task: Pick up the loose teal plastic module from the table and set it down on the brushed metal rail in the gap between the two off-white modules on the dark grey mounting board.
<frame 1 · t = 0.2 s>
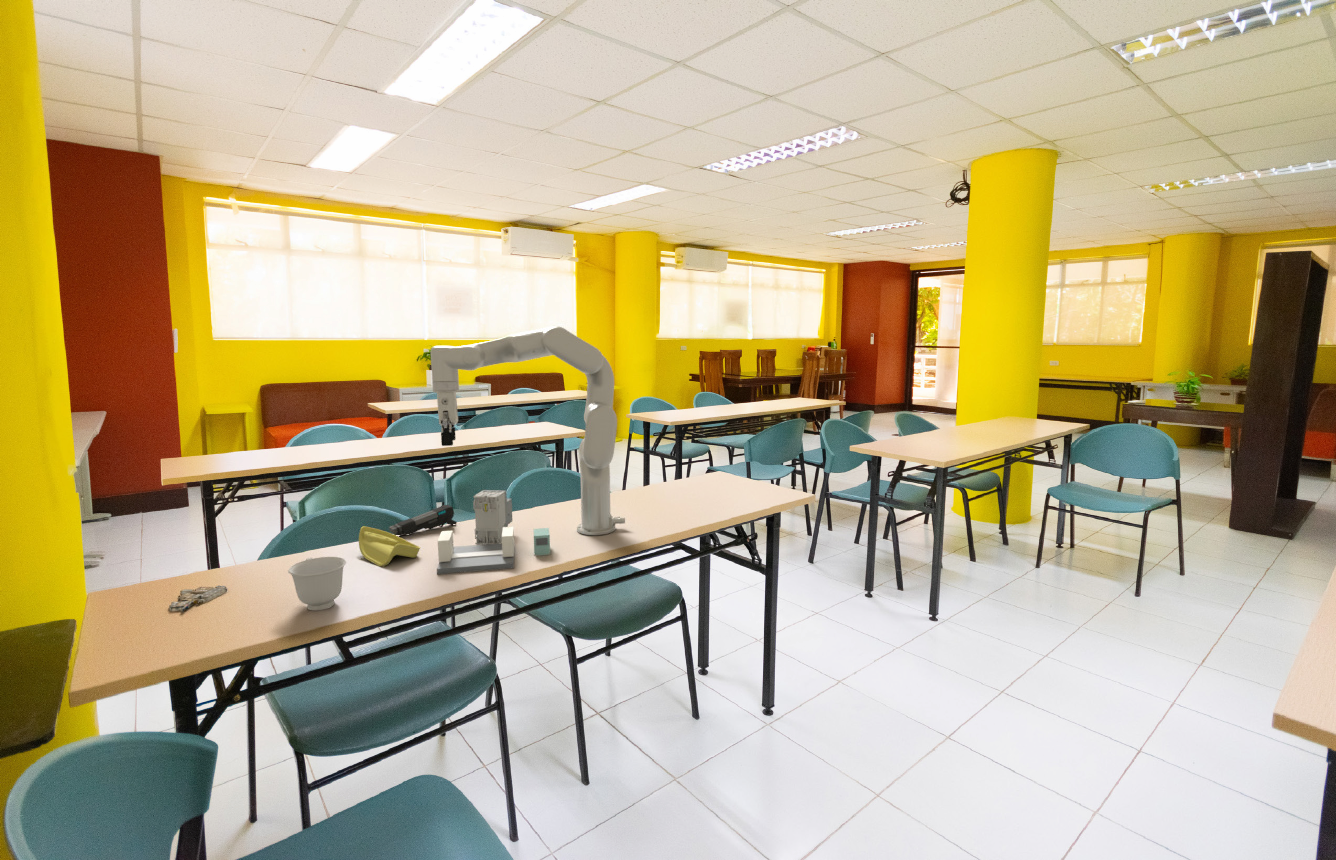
hand: (448, 442, 194), 31 cm above the table, tool pointing down, fingers open, 9 cm apart
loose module: (542, 551, 188), on the table
rail board: (478, 559, 181), on the table
gun: (424, 532, 208), on the table
teacup: (319, 604, 152), on the table
circuit breaker: (495, 537, 202), on the table
plastic component: (388, 556, 186), on the table
circuit board: (200, 602, 154), on the table
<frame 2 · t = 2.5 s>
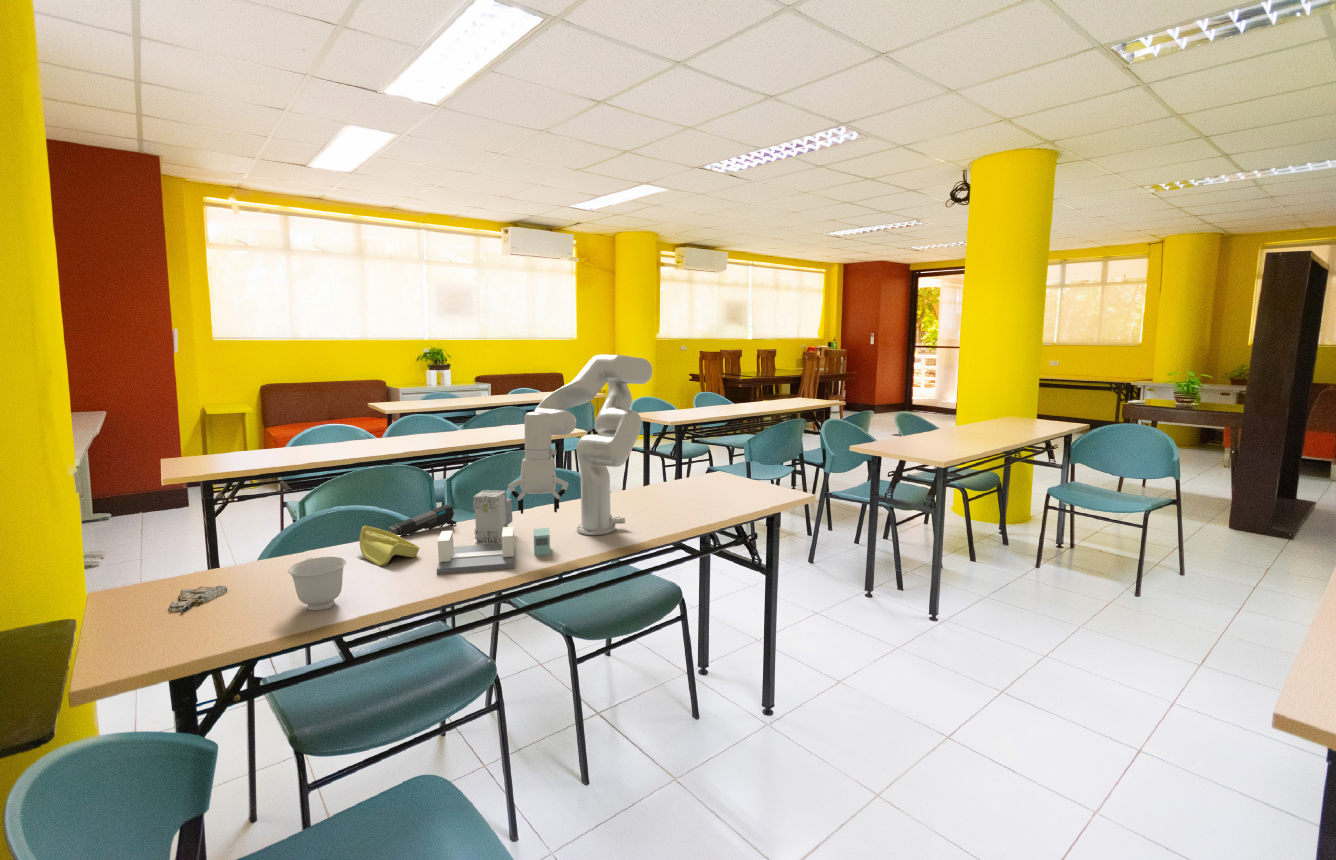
hand: (538, 512, 186), 12 cm above the table, tool pointing down, fingers open, 9 cm apart
nothing on the table moved.
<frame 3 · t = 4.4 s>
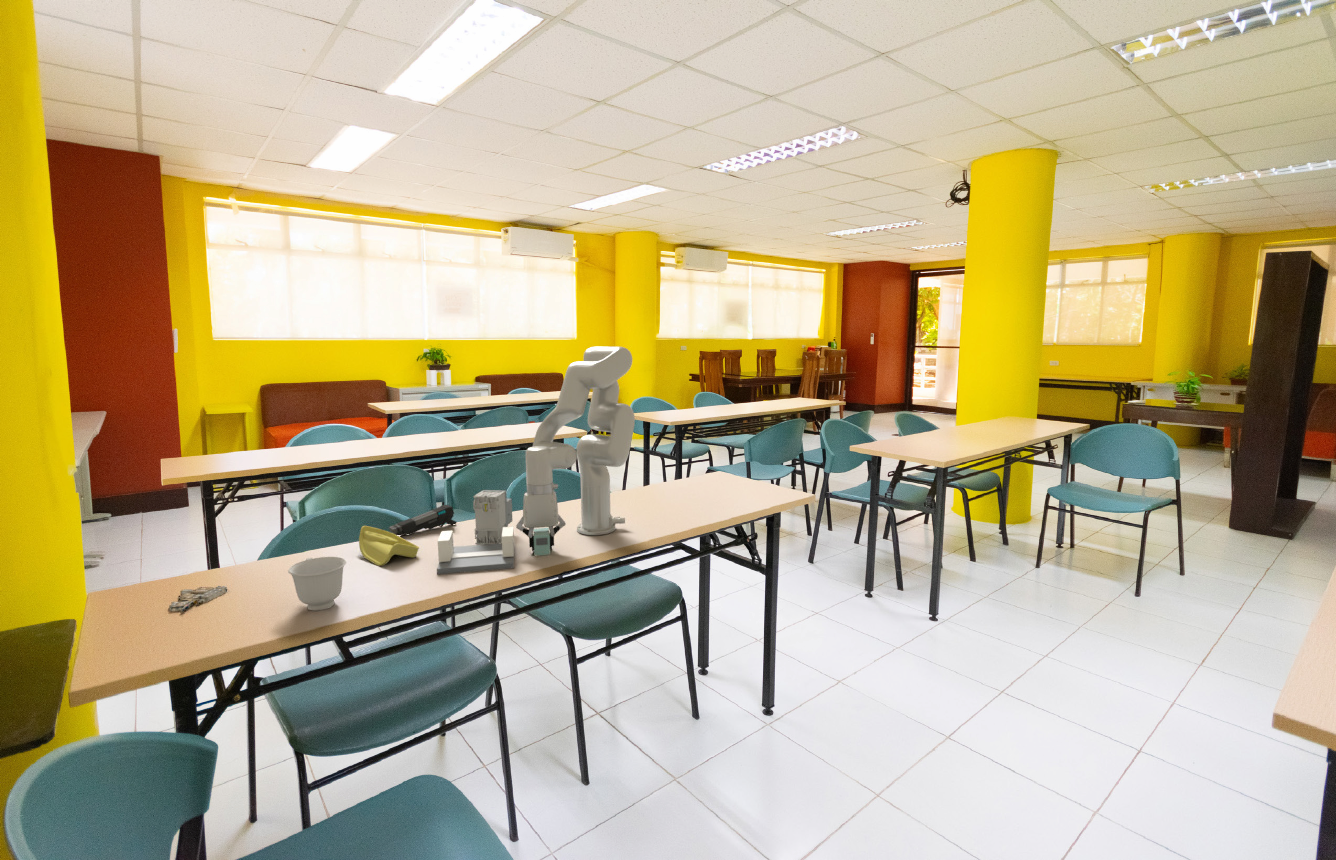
hand: (541, 548, 188), 1 cm above the table, tool pointing down, fingers closed on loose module, 4 cm apart
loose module: (542, 551, 188), on the table, touching gripper
everything else where it was.
when the fingers open (4 cm above the table, at t = 11.0 s): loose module drops 1 cm, resting on rail board.
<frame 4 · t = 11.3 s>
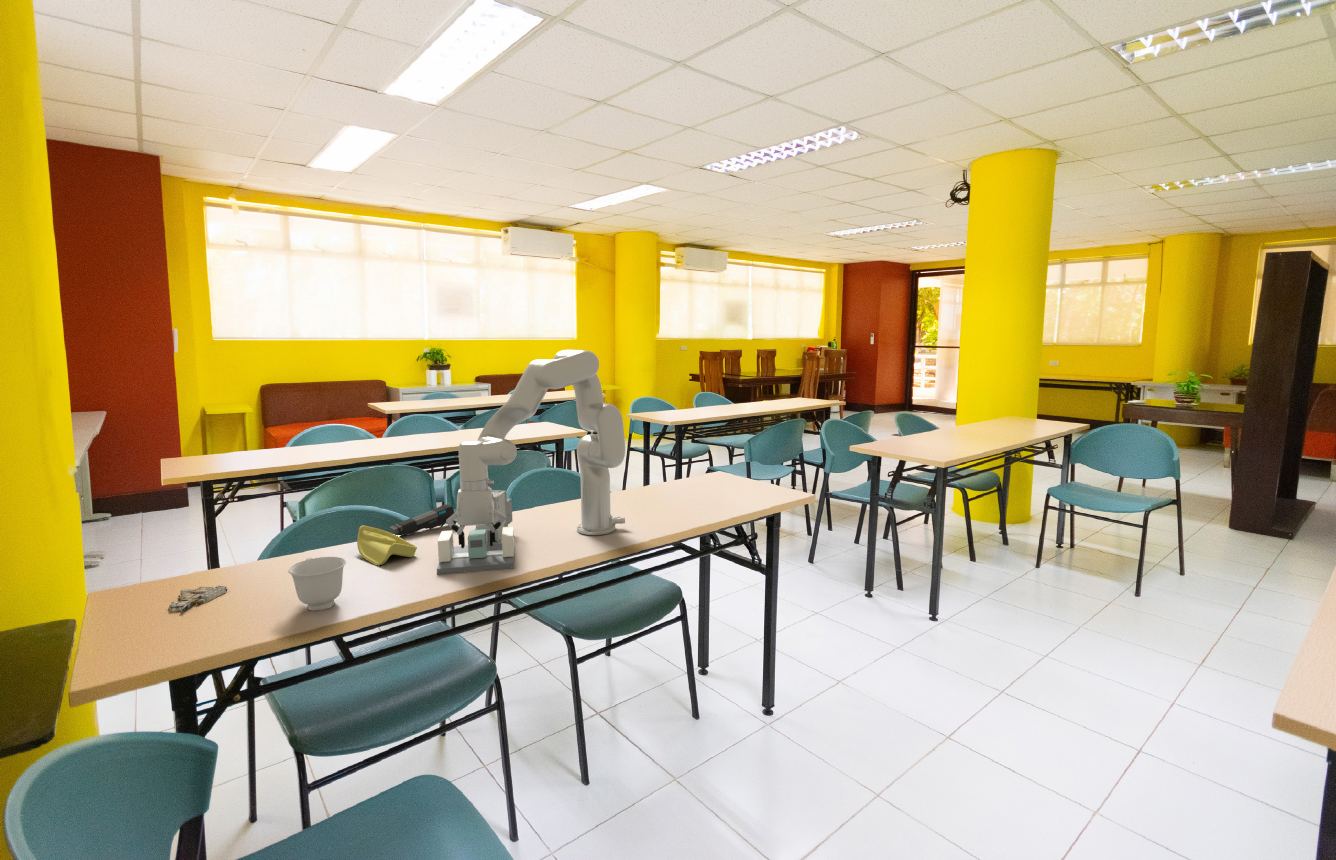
hand: (477, 545, 180), 4 cm above the table, tool pointing down, fingers open, 7 cm apart
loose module: (477, 553, 181), point 2 cm above the table, touching rail board
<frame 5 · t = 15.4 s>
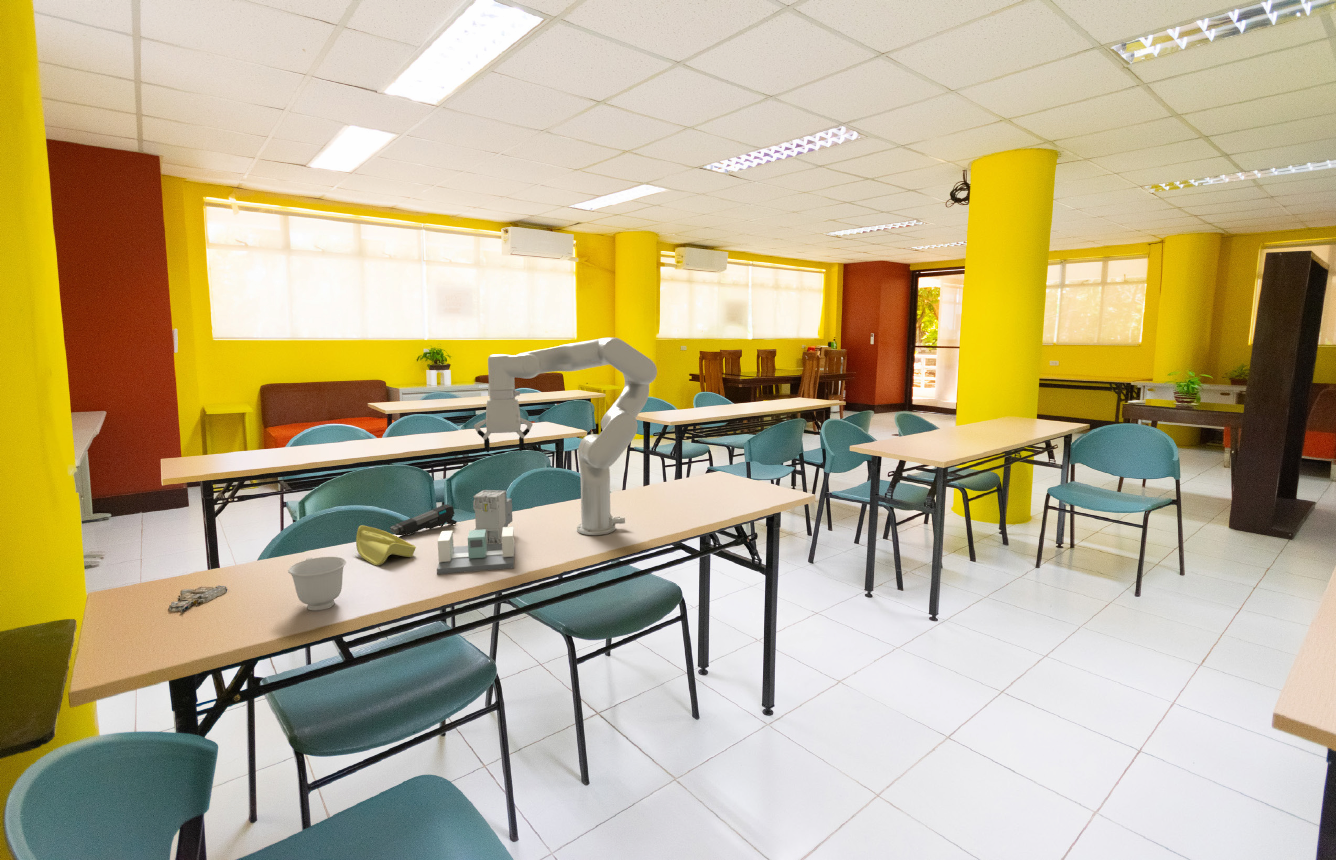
hand: (504, 450, 195), 28 cm above the table, tool pointing down, fingers open, 9 cm apart
at the end: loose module 0.0 cm off-centre on the rail board, point 1.8 cm above the rail board's base; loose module tilted 0°; the gripper is holding nothing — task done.
